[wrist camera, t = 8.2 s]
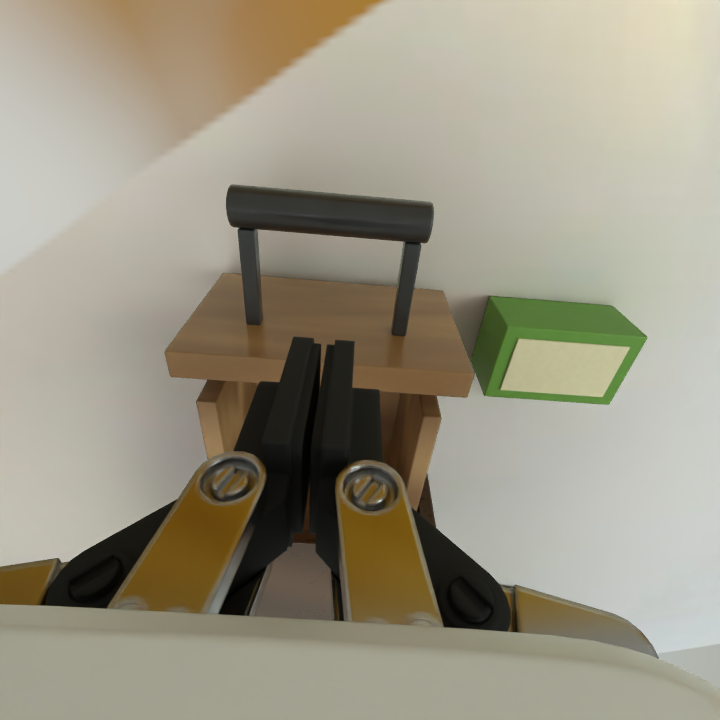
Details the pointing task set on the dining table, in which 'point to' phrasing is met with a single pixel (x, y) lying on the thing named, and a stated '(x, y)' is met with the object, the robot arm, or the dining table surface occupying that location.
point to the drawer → (326, 325)
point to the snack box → (554, 350)
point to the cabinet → (310, 576)
